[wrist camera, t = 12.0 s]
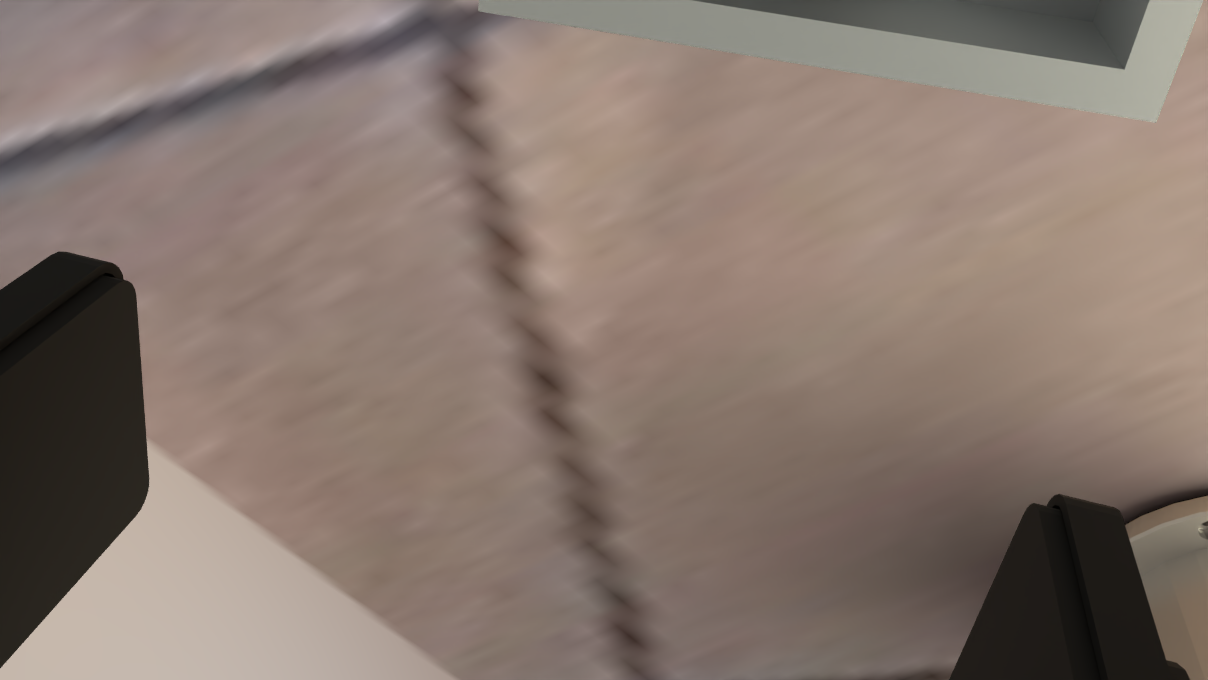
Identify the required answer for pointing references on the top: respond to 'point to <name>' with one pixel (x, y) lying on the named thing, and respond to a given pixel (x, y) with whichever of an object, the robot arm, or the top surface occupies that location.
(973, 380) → the top surface
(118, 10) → the top surface
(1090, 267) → the top surface
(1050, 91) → the bin
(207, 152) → the top surface
